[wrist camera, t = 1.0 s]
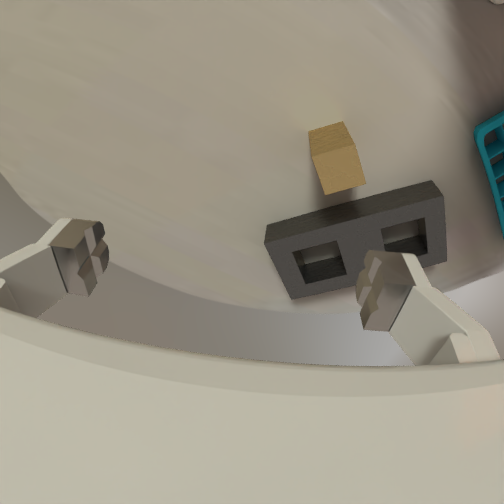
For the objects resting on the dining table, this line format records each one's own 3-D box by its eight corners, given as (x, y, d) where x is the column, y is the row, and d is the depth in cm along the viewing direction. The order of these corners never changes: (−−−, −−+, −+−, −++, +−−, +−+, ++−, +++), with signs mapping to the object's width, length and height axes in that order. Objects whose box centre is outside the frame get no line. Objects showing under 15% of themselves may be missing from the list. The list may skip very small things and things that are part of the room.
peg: (342, 121, 31) (354, 144, 25) (352, 153, 33) (366, 183, 27) (308, 131, 33) (311, 156, 26) (319, 162, 35) (325, 195, 29)
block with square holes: (431, 180, 34) (443, 195, 30) (437, 242, 39) (446, 261, 36) (267, 225, 41) (264, 243, 38) (292, 279, 46) (291, 299, 43)
